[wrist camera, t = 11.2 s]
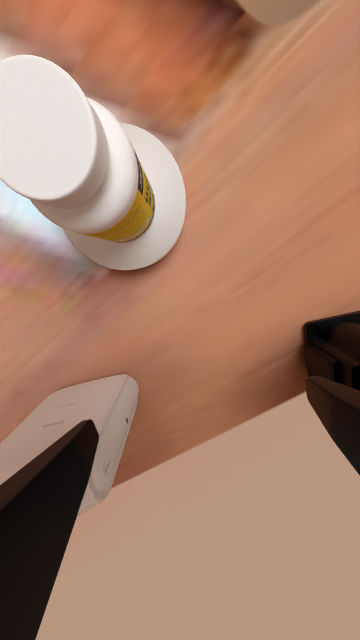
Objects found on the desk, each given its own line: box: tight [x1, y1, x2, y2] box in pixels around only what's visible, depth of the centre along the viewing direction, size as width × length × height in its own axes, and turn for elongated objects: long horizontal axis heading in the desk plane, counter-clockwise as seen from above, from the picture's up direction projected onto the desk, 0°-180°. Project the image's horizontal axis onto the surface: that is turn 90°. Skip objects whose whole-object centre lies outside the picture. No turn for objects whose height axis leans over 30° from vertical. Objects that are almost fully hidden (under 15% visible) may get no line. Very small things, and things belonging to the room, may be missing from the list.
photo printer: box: [0, 374, 139, 516], centre depth 18 cm, size 10×4×12 cm, turn 106°
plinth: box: [63, 123, 186, 270], centre depth 17 cm, size 10×10×2 cm
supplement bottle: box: [0, 55, 155, 243], centre depth 12 cm, size 5×5×10 cm
